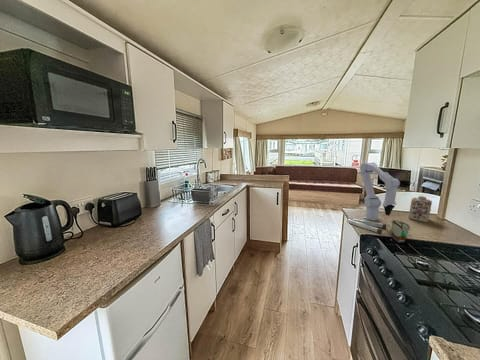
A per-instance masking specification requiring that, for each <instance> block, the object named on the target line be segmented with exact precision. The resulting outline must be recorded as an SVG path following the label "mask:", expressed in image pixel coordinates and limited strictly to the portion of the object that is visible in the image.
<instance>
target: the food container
mask: <svg viewBox="0 0 480 360" xmlns="http://www.w3.org/2000/svg"><path fill="white" fill-rule="evenodd" d="M409 231H411V226H410V224H408V223H406V222H404V221H402V220H401V221H400V220H397V219H396V220H395V219H394V220H393V219H392V221H391V232H390V237H392V238H393V239H394V240H395V241H396V242H398V243H400V244H402V243H406V240H407V238H408V237H407V236H408V234H409Z"/></svg>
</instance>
